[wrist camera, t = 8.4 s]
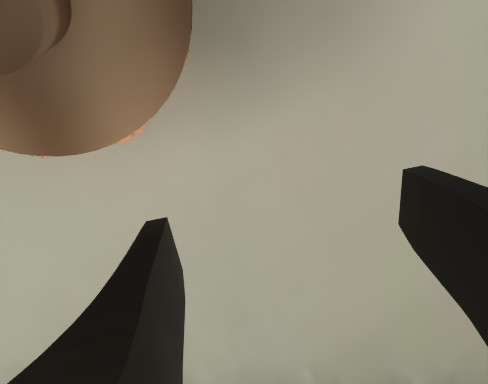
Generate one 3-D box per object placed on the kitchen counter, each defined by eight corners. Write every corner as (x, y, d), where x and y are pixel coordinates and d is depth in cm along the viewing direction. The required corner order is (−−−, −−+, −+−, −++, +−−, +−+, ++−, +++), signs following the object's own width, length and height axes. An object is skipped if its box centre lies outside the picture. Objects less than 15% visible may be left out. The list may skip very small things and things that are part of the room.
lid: (154, -241, 11) (144, -341, 7) (211, 126, 17) (222, 171, 13) (-268, -205, 10) (-517, -299, 7) (-57, 168, 16) (-126, 229, 12)
